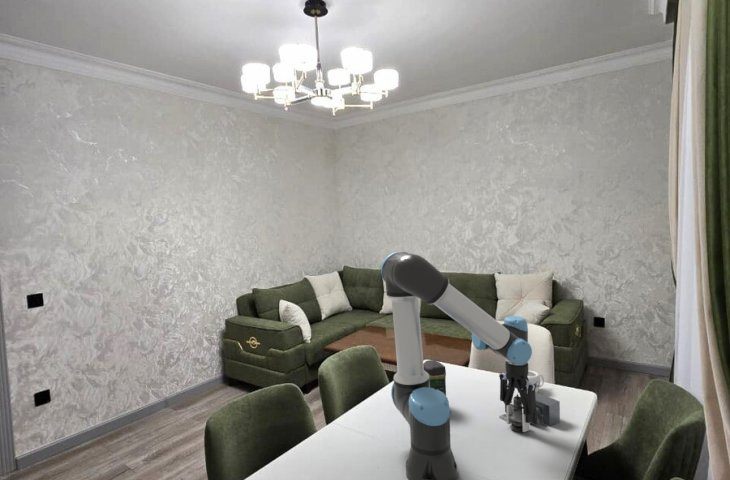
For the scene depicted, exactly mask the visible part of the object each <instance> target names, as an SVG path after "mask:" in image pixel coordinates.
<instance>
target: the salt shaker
mask: <svg viewBox="0 0 730 480" xmlns="http://www.w3.org/2000/svg"><path fill="white" fill-rule="evenodd" d="M512 404H513V406H512V407H513V414H511V415H510V416H509V418H510V421H511V423H512V424H509V425H510V426H509V428H510V429H511V430H513V431H515V432H520V433H521V432H523V425H522V413H523V405H522V401H521V397H520V395H519V393H517V394H516V396H515V395H514V396H513V398H512Z"/></svg>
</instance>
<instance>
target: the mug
mask: <svg viewBox="0 0 730 480" xmlns="http://www.w3.org/2000/svg"><path fill="white" fill-rule="evenodd" d="M527 377H528V380H529V382H530V383H532V384H536V389H535V392H537V393H539V390H540V388H542V387H543V386H544V383H545V378H544V376H543V374H540V373H539V372H537V371H534V370H529V369H528V376H527ZM526 386H527V385H526ZM527 391H528V389H527Z"/></svg>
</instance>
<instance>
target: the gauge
mask: <svg viewBox="0 0 730 480" xmlns="http://www.w3.org/2000/svg"><path fill="white" fill-rule="evenodd" d="M535 397H536V405H538V406H541V407H542V415H541V424H543V425H545V426H547V427H549V428H550V427H552V426H555V425H557V424H558V423H560V422H561V407H560V406H561V405H560V400H557V399H554V398H553V397H552V398H551V397H550V396H547V395H544V394H543V393H542V394H541V393H539V392H535ZM499 419H500V420H503V421H505V422H507V413H506V412H505V413H504V414H501V415H499ZM511 424H512V423H511ZM511 424H510V425H511Z"/></svg>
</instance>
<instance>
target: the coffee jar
mask: <svg viewBox="0 0 730 480" xmlns="http://www.w3.org/2000/svg"><path fill="white" fill-rule="evenodd" d="M423 364H424V371H426V372H427V373H428V374H429V380H430V388H434V389H435V390H439V391H441V392H442V393H444V394H445V395H446V396H447V386H446V380H447V379H446V378H447V377H446V375H447V371H446V366H445V365H443V364H442V363H441V362H439V361H438V360H435V359H431V360H426V361H424V362H423Z"/></svg>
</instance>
